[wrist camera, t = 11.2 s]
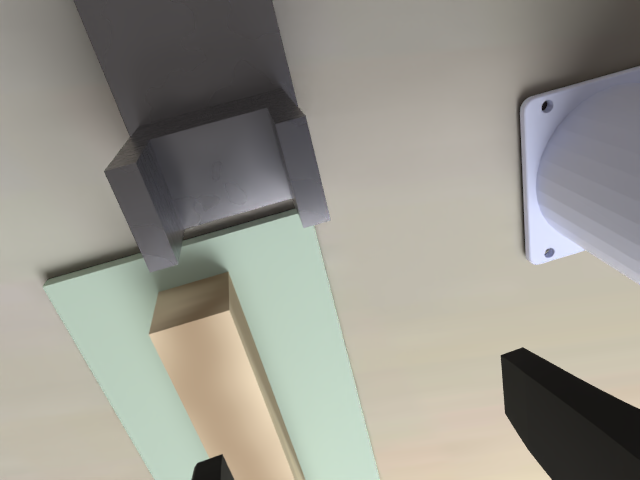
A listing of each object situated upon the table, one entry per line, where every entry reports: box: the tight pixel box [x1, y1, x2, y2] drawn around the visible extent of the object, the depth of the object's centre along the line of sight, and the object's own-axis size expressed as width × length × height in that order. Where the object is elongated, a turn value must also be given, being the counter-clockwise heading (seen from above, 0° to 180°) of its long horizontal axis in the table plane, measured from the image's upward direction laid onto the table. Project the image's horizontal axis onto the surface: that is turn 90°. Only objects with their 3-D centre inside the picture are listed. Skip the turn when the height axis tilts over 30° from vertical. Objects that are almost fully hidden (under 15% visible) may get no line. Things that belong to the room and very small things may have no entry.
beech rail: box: [149, 272, 305, 480], centre depth 22 cm, size 3×16×3 cm, turn 13°
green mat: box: [43, 209, 380, 480], centre depth 24 cm, size 11×20×1 cm, turn 13°
